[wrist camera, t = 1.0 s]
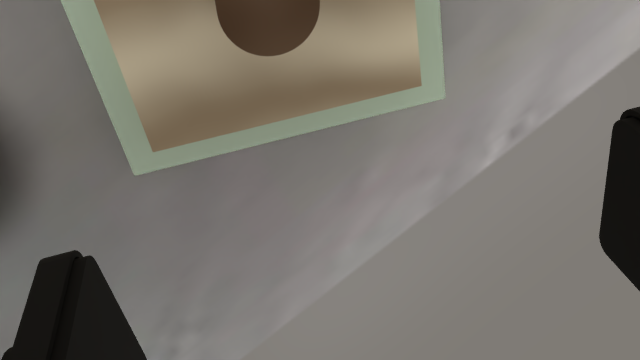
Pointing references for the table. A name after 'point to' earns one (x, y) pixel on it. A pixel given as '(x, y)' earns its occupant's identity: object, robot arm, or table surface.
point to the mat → (145, 160)
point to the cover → (255, 60)
